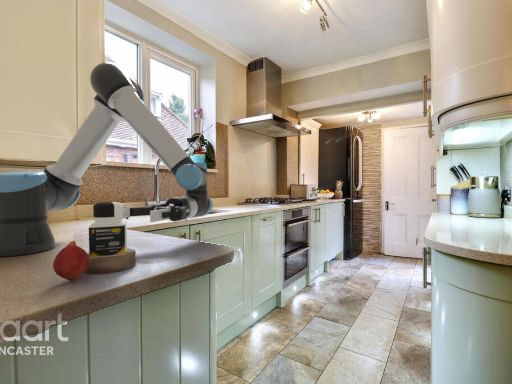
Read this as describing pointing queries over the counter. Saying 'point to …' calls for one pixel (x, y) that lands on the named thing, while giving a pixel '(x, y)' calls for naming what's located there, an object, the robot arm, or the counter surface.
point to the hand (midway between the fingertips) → (129, 215)
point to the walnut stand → (112, 263)
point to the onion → (71, 262)
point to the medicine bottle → (107, 231)
